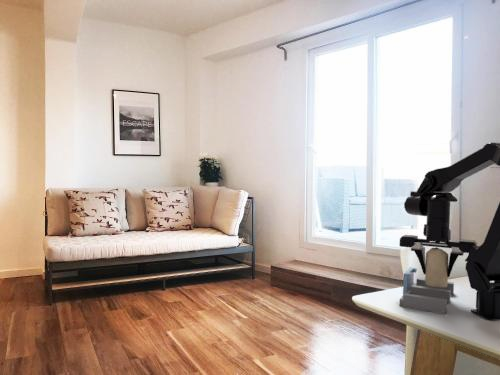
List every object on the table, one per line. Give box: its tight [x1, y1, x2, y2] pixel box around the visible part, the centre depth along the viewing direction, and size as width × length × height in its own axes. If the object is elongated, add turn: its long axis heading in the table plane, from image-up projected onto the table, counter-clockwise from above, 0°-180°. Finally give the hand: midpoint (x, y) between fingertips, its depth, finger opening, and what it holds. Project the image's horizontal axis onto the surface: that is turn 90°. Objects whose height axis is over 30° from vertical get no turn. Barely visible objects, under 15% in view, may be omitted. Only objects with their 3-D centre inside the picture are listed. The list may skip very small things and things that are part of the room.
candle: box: [424, 247, 449, 287], centre depth 116 cm, size 6×6×10 cm
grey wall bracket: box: [399, 266, 455, 315], centre depth 113 cm, size 22×12×6 cm, turn 150°
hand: (436, 275), depth 116 cm, fingers closed on candle, 5 cm apart
